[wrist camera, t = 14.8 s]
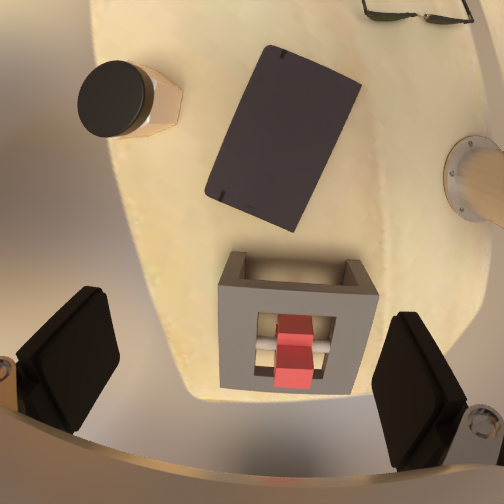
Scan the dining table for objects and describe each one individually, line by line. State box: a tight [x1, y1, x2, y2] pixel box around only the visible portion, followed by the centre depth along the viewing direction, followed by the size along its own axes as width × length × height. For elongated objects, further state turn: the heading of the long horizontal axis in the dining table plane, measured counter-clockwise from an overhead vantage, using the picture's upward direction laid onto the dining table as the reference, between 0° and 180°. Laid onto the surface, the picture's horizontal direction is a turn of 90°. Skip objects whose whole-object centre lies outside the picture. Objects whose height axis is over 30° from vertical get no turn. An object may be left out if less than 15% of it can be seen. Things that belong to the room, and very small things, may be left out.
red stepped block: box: [274, 313, 314, 389], centre depth 38 cm, size 4×6×13 cm, turn 178°
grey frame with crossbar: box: [218, 252, 379, 395], centre depth 41 cm, size 18×16×10 cm
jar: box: [78, 60, 183, 140], centre depth 31 cm, size 9×8×12 cm
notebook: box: [205, 45, 362, 233], centre depth 37 cm, size 13×2×21 cm
